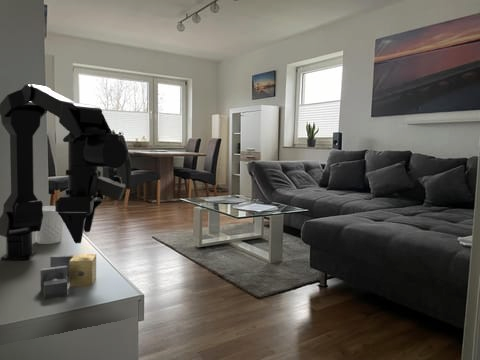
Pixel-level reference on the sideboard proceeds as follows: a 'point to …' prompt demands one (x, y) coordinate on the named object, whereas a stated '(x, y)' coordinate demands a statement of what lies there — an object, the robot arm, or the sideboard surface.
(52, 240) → the white cup
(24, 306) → the sideboard surface
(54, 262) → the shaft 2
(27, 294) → the sideboard surface
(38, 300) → the sideboard surface
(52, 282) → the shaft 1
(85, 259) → the block
